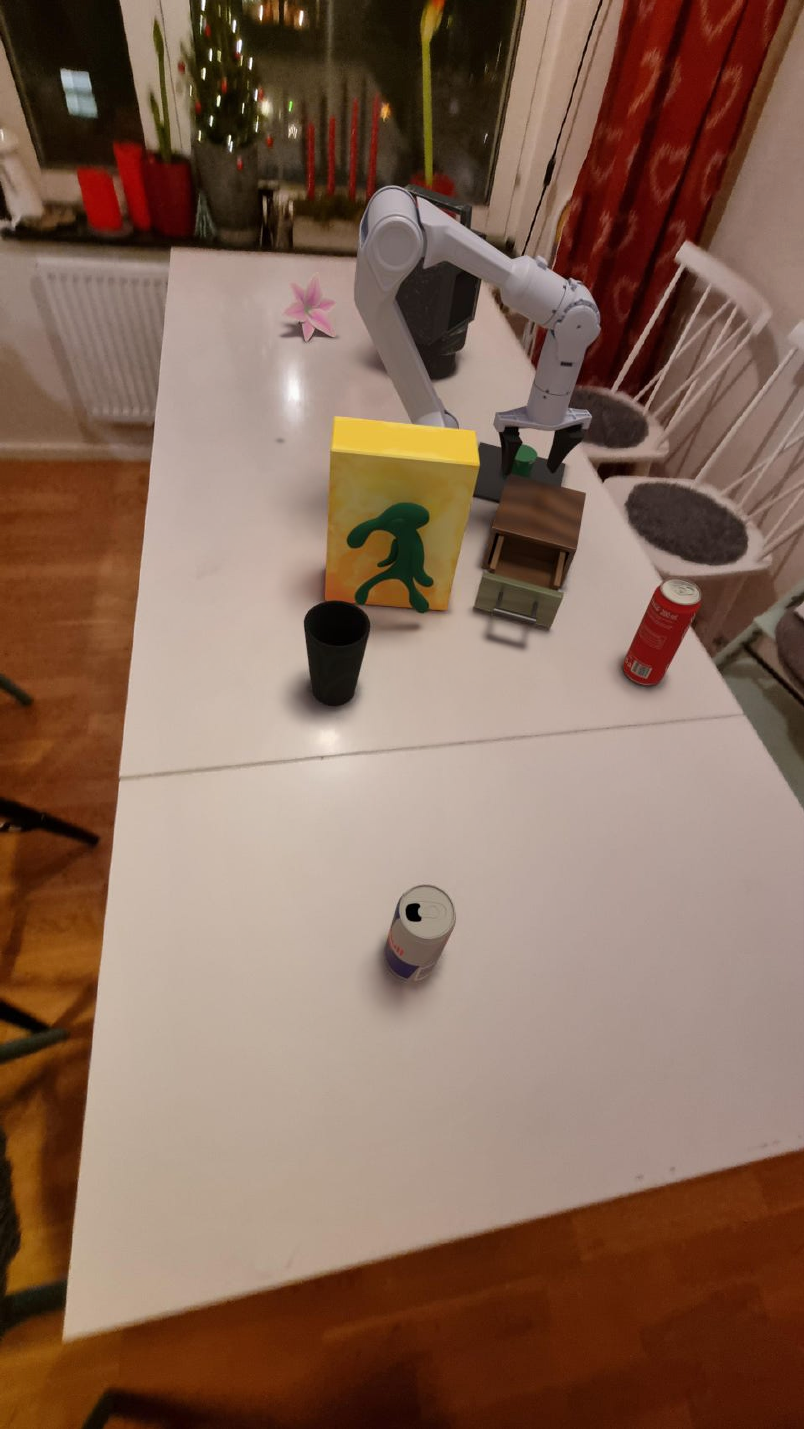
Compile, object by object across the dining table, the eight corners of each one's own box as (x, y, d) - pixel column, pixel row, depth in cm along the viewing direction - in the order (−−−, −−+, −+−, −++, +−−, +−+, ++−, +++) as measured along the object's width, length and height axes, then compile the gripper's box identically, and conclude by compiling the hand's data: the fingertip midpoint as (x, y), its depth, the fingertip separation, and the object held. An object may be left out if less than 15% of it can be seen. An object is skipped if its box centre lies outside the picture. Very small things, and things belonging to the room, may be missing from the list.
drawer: (546, 649, 97) (558, 620, 92) (467, 628, 97) (475, 597, 93) (561, 568, 107) (573, 538, 103) (490, 550, 108) (498, 519, 104)
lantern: (473, 364, 146) (506, 193, 122) (429, 396, 136) (456, 218, 112) (412, 339, 149) (433, 168, 126) (366, 368, 139) (379, 190, 116)
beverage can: (662, 691, 96) (713, 613, 84) (615, 680, 96) (660, 601, 84) (661, 660, 99) (710, 581, 87) (616, 650, 99) (658, 569, 87)
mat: (462, 493, 118) (462, 490, 117) (479, 444, 128) (480, 442, 127) (554, 517, 117) (555, 514, 116) (564, 466, 126) (565, 463, 126)
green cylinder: (505, 484, 120) (511, 461, 116) (498, 467, 123) (504, 443, 119) (533, 485, 121) (541, 461, 117) (526, 467, 124) (533, 444, 120)
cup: (317, 720, 86) (319, 655, 76) (293, 676, 90) (293, 609, 80) (373, 701, 89) (382, 637, 79) (348, 659, 92) (353, 593, 83)
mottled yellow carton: (322, 628, 95) (327, 475, 76) (327, 567, 103) (333, 415, 84) (448, 637, 97) (483, 490, 78) (444, 577, 104) (476, 430, 85)
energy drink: (381, 930, 71) (394, 882, 61) (433, 928, 72) (453, 880, 62) (385, 984, 68) (399, 942, 58) (439, 981, 68) (461, 940, 59)
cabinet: (561, 588, 106) (576, 549, 100) (481, 567, 107) (492, 527, 101) (571, 532, 115) (586, 492, 109) (497, 512, 116) (508, 472, 110)
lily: (273, 343, 144) (288, 309, 135) (273, 296, 146) (288, 260, 138) (327, 361, 149) (345, 329, 141) (327, 315, 152) (344, 282, 144)
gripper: (588, 369, 101) (561, 453, 111) (495, 370, 97) (476, 457, 108) (608, 395, 97) (578, 480, 108) (512, 397, 93) (490, 484, 104)
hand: (528, 470), depth 108 cm, fingers open, 7 cm apart
